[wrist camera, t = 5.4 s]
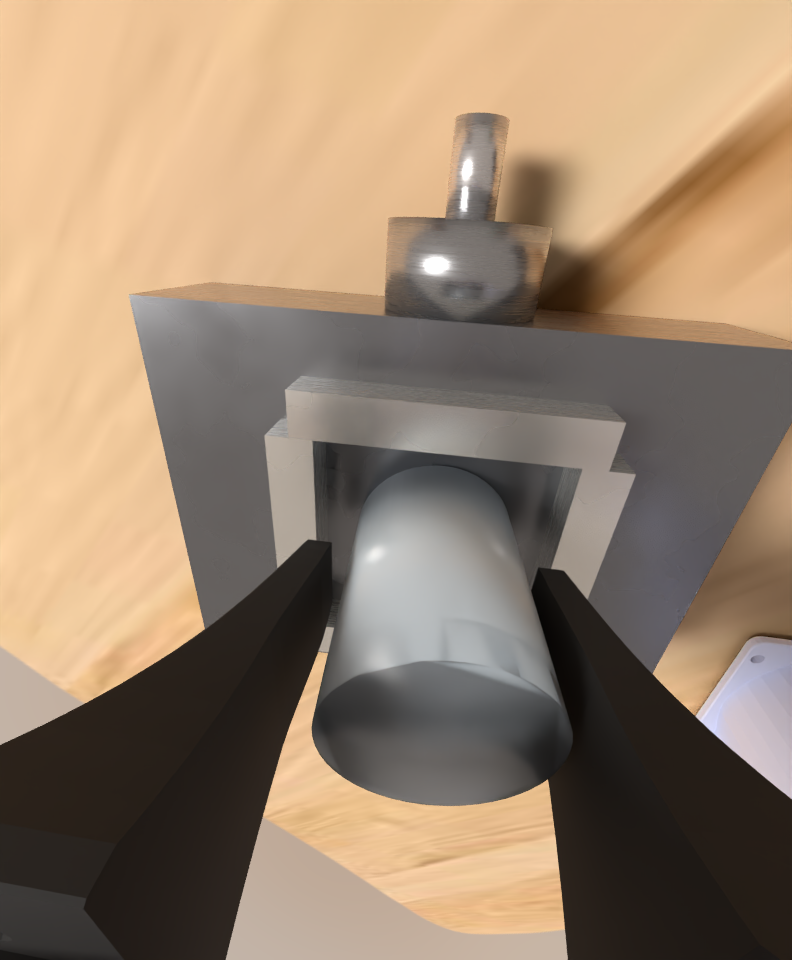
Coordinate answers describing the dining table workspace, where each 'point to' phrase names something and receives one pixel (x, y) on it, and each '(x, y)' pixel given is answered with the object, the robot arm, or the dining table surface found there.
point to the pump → (439, 651)
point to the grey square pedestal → (462, 412)
